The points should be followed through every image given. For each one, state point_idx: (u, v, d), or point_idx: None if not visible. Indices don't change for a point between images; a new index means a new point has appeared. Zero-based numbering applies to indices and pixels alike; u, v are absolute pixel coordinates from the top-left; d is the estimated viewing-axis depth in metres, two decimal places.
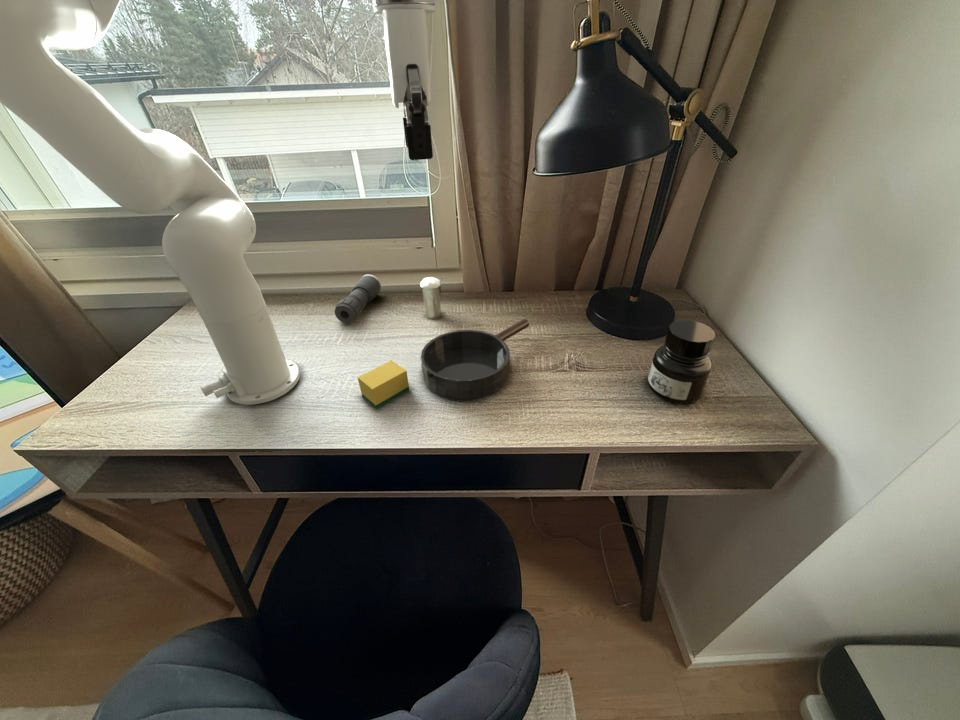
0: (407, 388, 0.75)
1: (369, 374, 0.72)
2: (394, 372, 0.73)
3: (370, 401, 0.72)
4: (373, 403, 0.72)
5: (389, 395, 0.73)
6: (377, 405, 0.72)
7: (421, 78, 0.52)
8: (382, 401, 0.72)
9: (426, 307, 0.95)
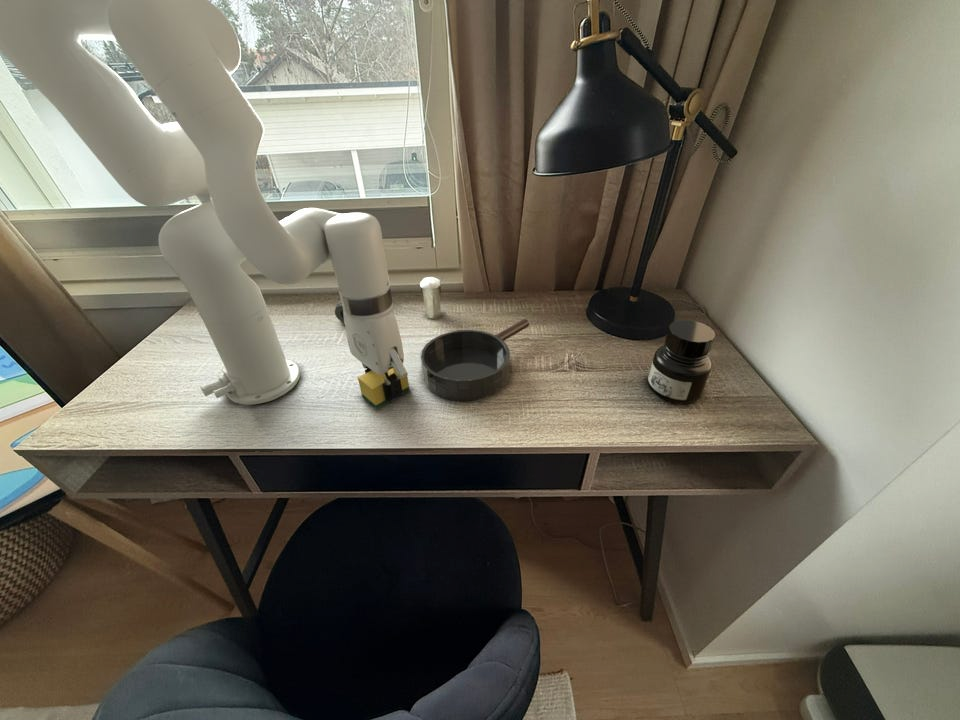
0: (407, 388, 0.75)
1: (369, 374, 0.72)
2: None
3: (370, 401, 0.72)
4: (373, 403, 0.72)
5: None
6: (377, 405, 0.72)
7: (399, 352, 0.66)
8: (382, 401, 0.72)
9: (426, 307, 0.95)
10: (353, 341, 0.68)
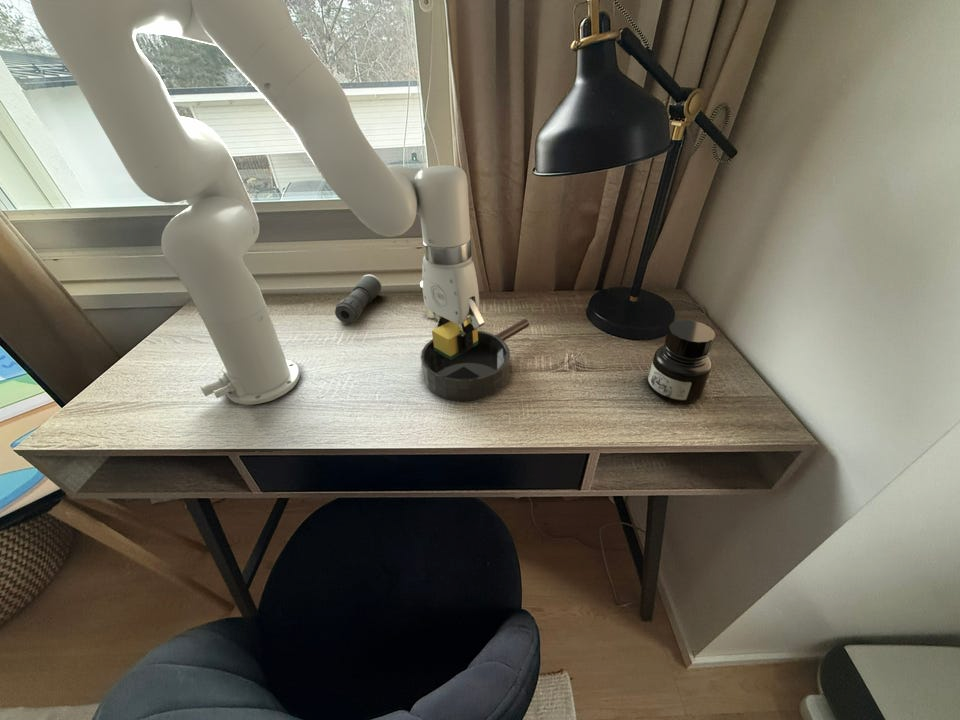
0: (476, 342, 0.79)
1: (442, 328, 0.76)
2: (466, 325, 0.76)
3: (444, 353, 0.76)
4: (447, 354, 0.75)
5: None
6: (451, 356, 0.75)
7: (476, 302, 0.70)
8: (455, 353, 0.76)
9: (426, 307, 0.95)
10: (431, 293, 0.72)
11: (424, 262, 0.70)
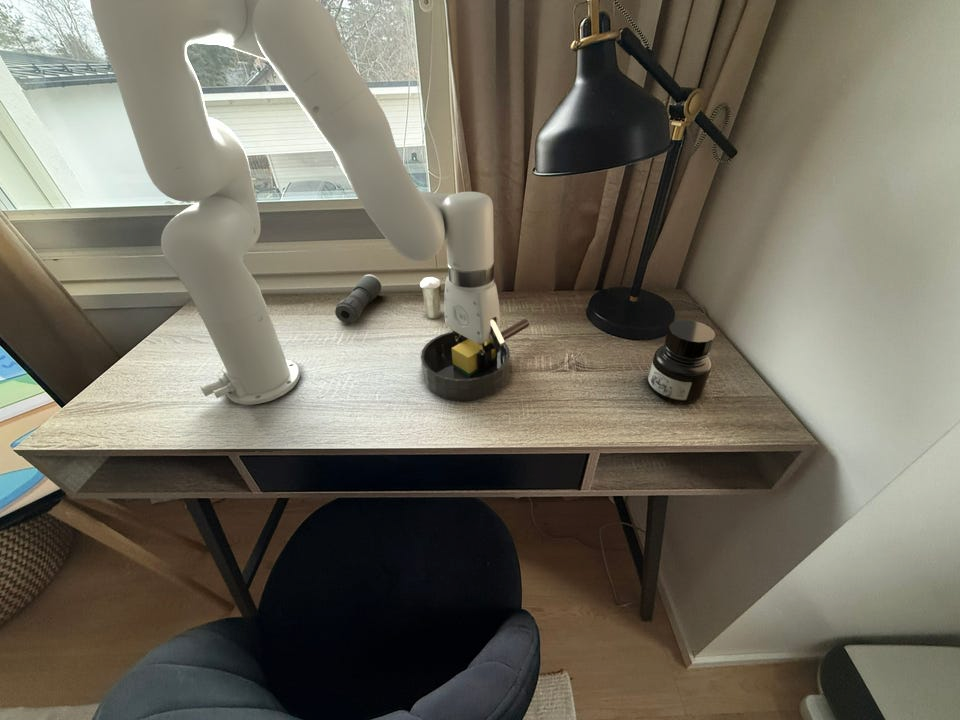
0: (494, 359, 0.80)
1: (461, 345, 0.78)
2: (484, 343, 0.78)
3: (463, 370, 0.78)
4: (466, 372, 0.77)
5: None
6: (470, 373, 0.77)
7: (497, 323, 0.72)
8: (474, 370, 0.77)
9: (426, 307, 0.95)
10: (453, 313, 0.73)
11: (447, 283, 0.71)
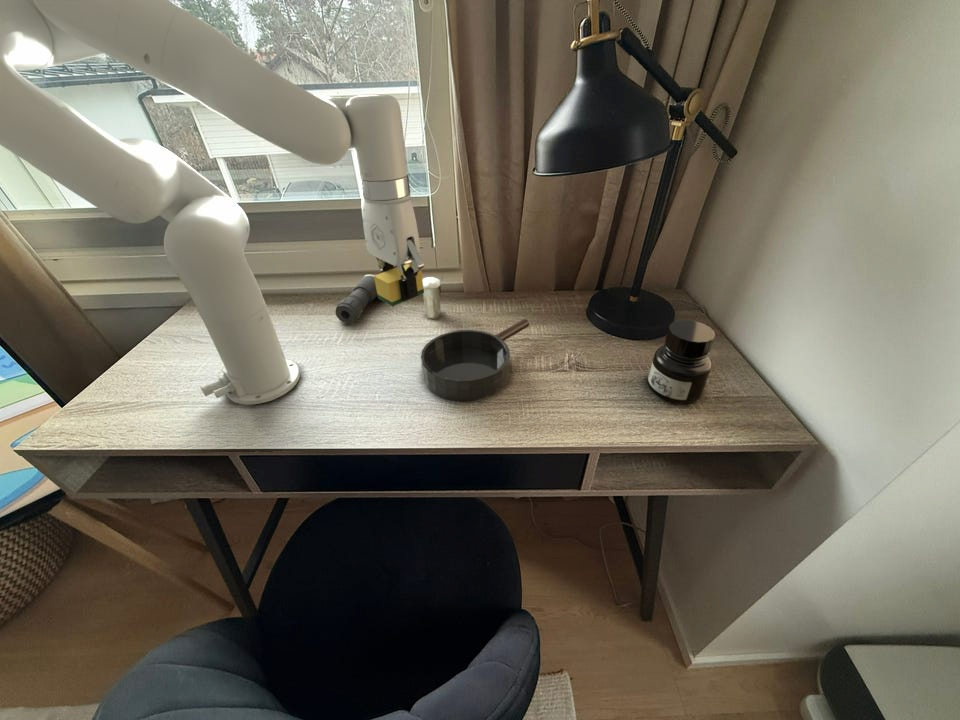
0: (422, 290, 0.77)
1: (384, 273, 0.74)
2: None
3: (386, 299, 0.74)
4: (389, 300, 0.73)
5: None
6: (393, 302, 0.73)
7: (416, 244, 0.68)
8: (398, 299, 0.74)
9: (426, 307, 0.95)
10: (371, 235, 0.70)
11: (362, 201, 0.68)
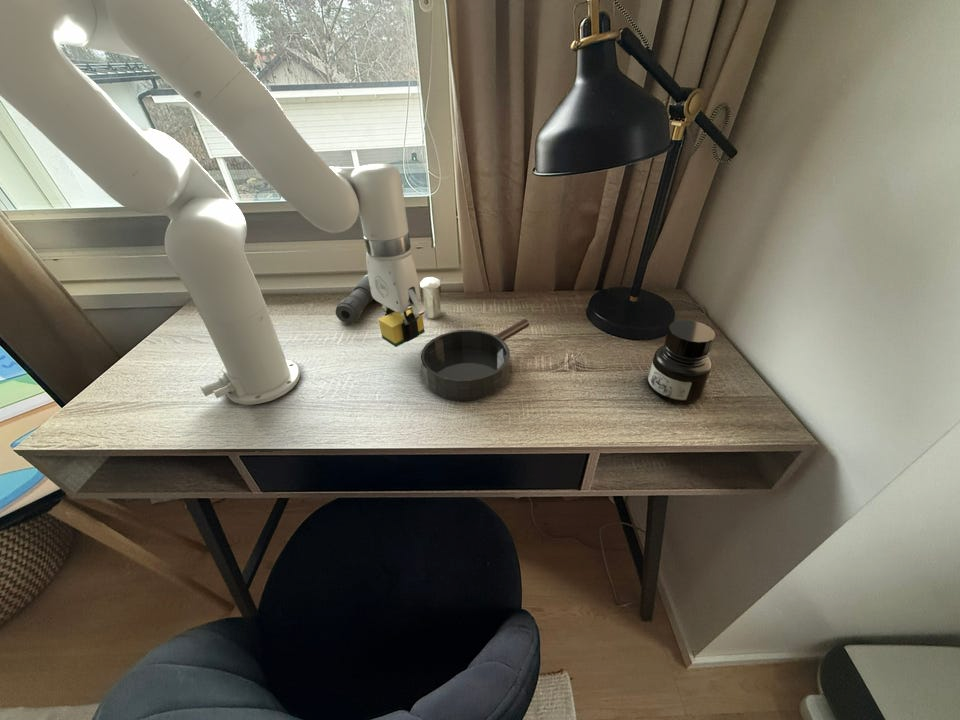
0: (422, 330, 0.83)
1: (388, 316, 0.80)
2: None
3: (390, 340, 0.80)
4: (393, 342, 0.80)
5: None
6: (396, 343, 0.80)
7: (416, 293, 0.74)
8: (401, 340, 0.80)
9: (426, 307, 0.95)
10: (375, 284, 0.76)
11: (367, 255, 0.74)
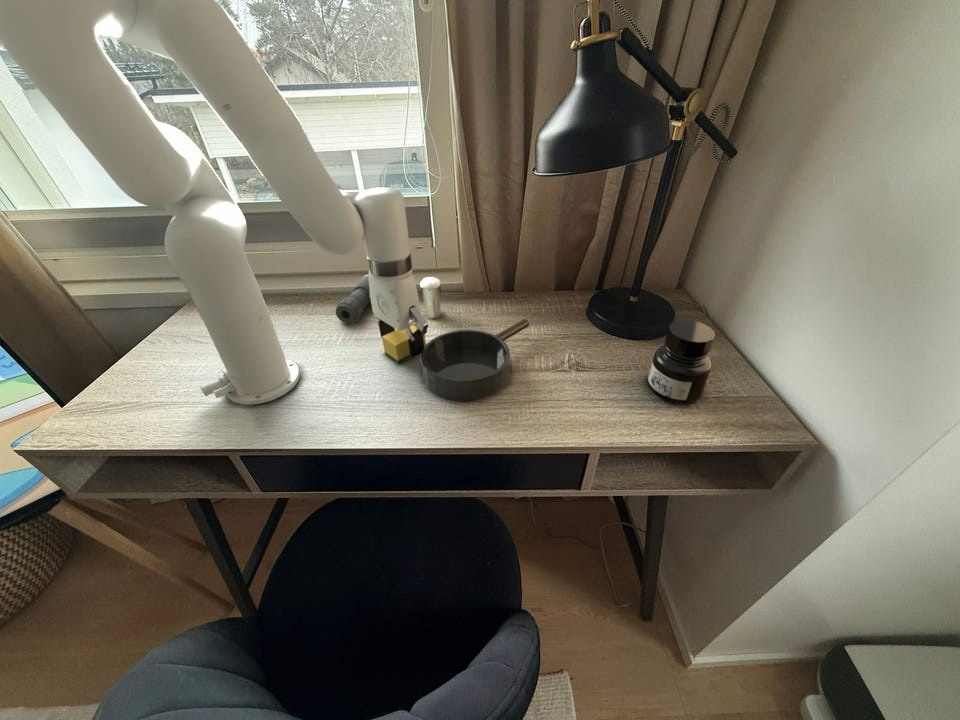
0: None
1: (391, 334, 0.83)
2: (413, 332, 0.83)
3: (393, 357, 0.83)
4: (396, 359, 0.82)
5: None
6: (399, 360, 0.82)
7: None
8: (403, 357, 0.82)
9: (426, 307, 0.95)
10: (377, 302, 0.78)
11: (369, 273, 0.76)
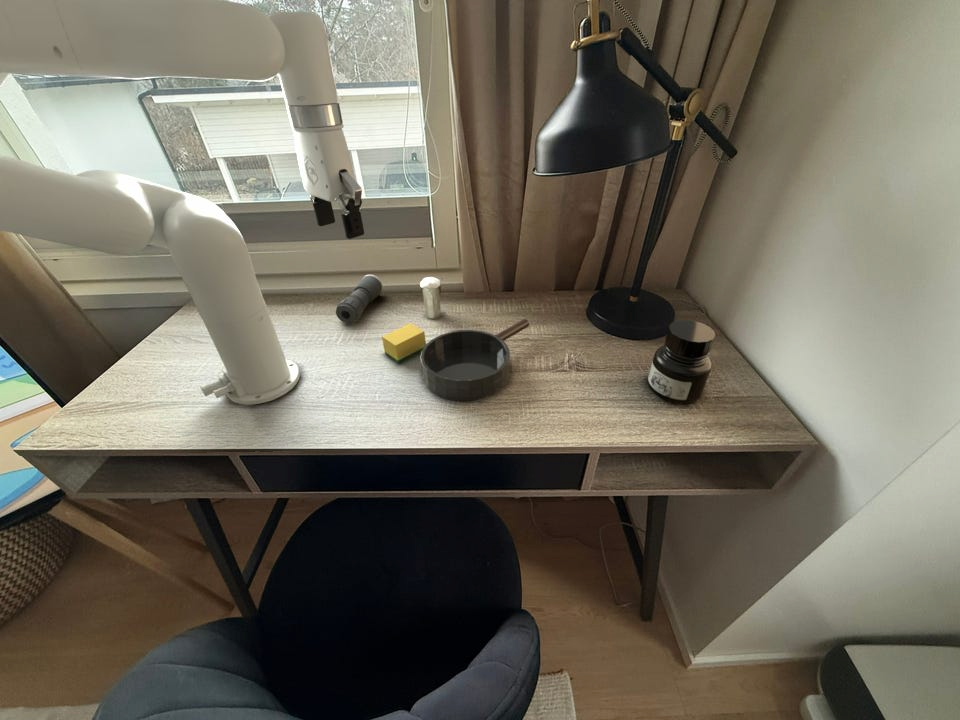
0: None
1: (391, 334, 0.83)
2: (413, 332, 0.83)
3: (393, 357, 0.83)
4: (396, 359, 0.82)
5: (409, 352, 0.83)
6: (399, 360, 0.82)
7: None
8: (403, 357, 0.82)
9: (426, 307, 0.95)
10: (305, 171, 0.68)
11: (294, 133, 0.65)
